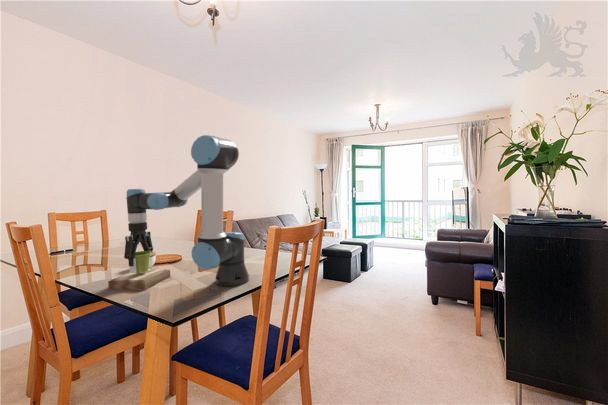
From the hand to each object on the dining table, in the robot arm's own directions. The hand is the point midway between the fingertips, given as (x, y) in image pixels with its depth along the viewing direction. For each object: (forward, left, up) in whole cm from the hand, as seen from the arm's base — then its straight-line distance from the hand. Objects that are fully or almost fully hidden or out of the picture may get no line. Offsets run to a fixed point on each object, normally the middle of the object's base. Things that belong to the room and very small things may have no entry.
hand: (140, 269), depth 134 cm
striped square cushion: (0, 0, -6) cm, 6 cm away
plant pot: (0, 0, -1) cm, 1 cm away
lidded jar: (+15, -23, -6) cm, 28 cm away
